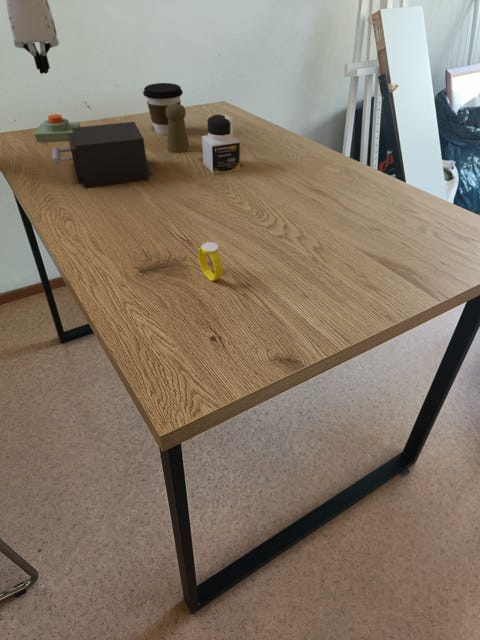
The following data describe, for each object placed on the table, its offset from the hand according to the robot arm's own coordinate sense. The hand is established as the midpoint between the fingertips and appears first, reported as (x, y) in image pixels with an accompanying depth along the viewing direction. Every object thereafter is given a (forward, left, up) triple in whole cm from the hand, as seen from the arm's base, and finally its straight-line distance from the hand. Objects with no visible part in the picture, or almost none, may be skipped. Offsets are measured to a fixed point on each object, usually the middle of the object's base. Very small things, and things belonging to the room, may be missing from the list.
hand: (44, 72), depth 119 cm
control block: (-1, 0, -17) cm, 17 cm away
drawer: (+29, -15, -16) cm, 36 cm away
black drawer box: (+31, -12, -17) cm, 37 cm away
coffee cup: (+23, +19, -17) cm, 35 cm away
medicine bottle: (+51, +5, -17) cm, 54 cm away
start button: (-1, 0, -13) cm, 13 cm away
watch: (+75, -36, -17) cm, 85 cm away
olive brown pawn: (+34, +10, -17) cm, 40 cm away
